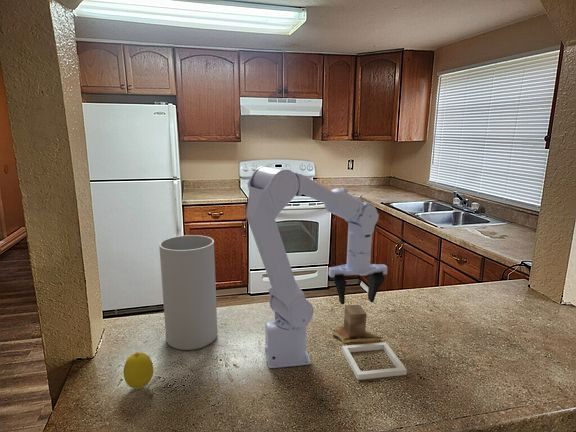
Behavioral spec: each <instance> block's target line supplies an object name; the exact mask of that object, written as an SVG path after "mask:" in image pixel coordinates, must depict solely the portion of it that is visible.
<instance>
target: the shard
mask: <svg viewBox="0 0 576 432" xmlns="http://www.w3.org/2000/svg"><path fill="white" fill-rule="evenodd" d="M331 335H332V336H333V337H337V338H338V339H339V340H340V342H342V344H349V343H353V342H354V343H367V342H372V343H373V342H378V341H381V340H382V339H383V337H382V336H379V335H376V334H373V333H371V332H369V331H366V330H365V336H354V337H349V335H348V333H347V331H346V330H345V328H344V324H343V325H339V326H338V327H337V328H336V329H334V330H333V331H332V332H331Z"/></svg>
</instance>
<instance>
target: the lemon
mask: <svg viewBox="0 0 576 432" xmlns="http://www.w3.org/2000/svg"><path fill="white" fill-rule="evenodd" d="M153 374H154V364H153V361H152V359H151V358H150V356H149V355H148V354H146V353H144V352H140V351H139V352H138V351H136V352H135V353H132V354H131V355H129V357H128V358H126V361H125V363H124V366H123V378H124V381H125V383H126V384H127V385H128V386H129V387H130V388H133V389H139V390H140V389H142V388H144V387H146V386H147V385H149V383H150V382H151V380H152V378H153Z"/></svg>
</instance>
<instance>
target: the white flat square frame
mask: <svg viewBox="0 0 576 432" xmlns="http://www.w3.org/2000/svg"><path fill="white" fill-rule="evenodd" d="M378 350H379V351H380V350H383V351H384V352H385V354H386V356H388V358H389V360H390V361H391V363H393V365H394V366H395V367H392V368H390V367H389V368H384V369H383V368H381V369H370V370H361V369H360V368H359V366H358V364H357V363H356V361H355V359H354V358H353V355H352V354H351V353H356V352H367V351H378ZM341 352H342V354H343V355H344V357H345V359H346V361H347V362H348V364H349V367H350V369H351V370H352V373H353V374H354V376H355V377H356V379H357V381H361V380H369V379H379V378H389V377H397V376H399V377H400V376H407V374H408V373H407V372H408V369H407V368H406V366H405V365H404V364H403V362H402V361H401V360H400V359H399V358H398V356H397V355H396V353H395V352H394V351H393V349H391V347H390V346H389V344H388V343H387V342H386V341H383V342H372V343H363V344H362V343H360V344H349V345H342V346H341Z"/></svg>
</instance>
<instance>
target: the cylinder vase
mask: <svg viewBox="0 0 576 432" xmlns="http://www.w3.org/2000/svg"><path fill="white" fill-rule="evenodd" d="M158 247H159V257H160V258H159V259H160V271H161V272H160V273H161V275H160V276H161V288H162V301H163V315H164V326H165V327H164V329H165V340H166V342H167V344H168V345H169V346H170V347H171V348H174V349H176V350H181V351H192V350H197V349H202V348H204V347H206V346H208V345H210V344H211V343H213V342H214V340H216V338H217V336H218V316H217V315H218V314H217V290H216V289H217V288H216V287H217V286H216V264H215V263H216V262H215V260H216V259H215V240H214V239H213V238H212V237H210V236H205V235H199V234H196V235H195V234H194V235H193V234H190V235H189V234H186V235H179V236H178V235H177V236H173V237H169V238H166V239H164V240H162V241H160V242H159V245H158Z"/></svg>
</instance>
